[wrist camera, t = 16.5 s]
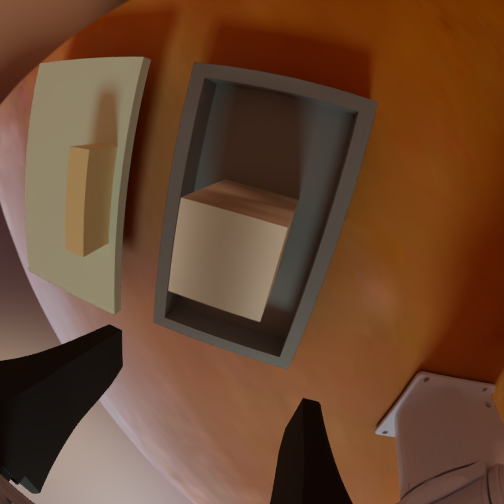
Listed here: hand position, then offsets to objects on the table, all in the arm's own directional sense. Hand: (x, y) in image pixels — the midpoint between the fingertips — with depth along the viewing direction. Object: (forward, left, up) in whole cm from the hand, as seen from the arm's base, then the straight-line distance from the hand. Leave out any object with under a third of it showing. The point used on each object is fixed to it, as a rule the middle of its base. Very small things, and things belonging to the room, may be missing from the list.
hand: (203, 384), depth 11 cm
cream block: (+1, -3, -10) cm, 10 cm away
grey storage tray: (+1, -4, -10) cm, 11 cm away
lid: (+13, -4, -8) cm, 16 cm away
